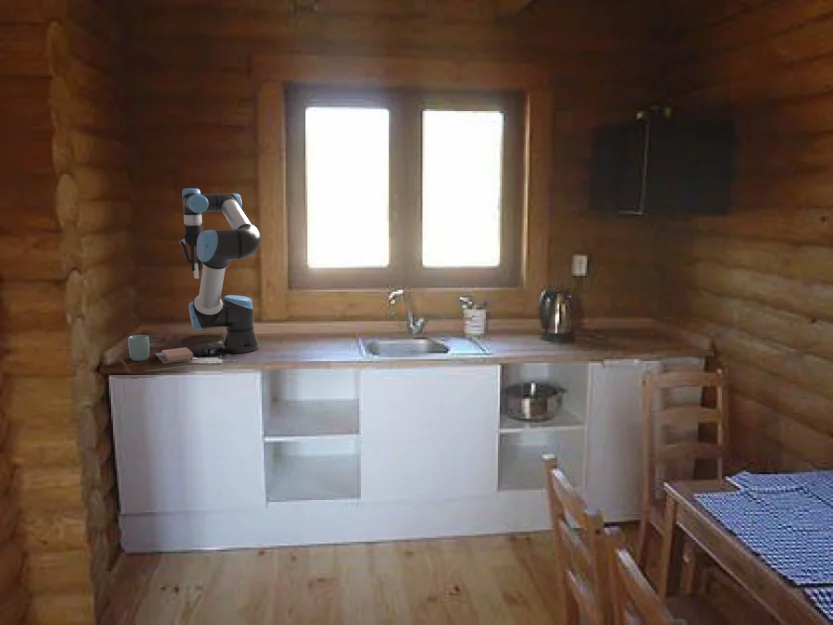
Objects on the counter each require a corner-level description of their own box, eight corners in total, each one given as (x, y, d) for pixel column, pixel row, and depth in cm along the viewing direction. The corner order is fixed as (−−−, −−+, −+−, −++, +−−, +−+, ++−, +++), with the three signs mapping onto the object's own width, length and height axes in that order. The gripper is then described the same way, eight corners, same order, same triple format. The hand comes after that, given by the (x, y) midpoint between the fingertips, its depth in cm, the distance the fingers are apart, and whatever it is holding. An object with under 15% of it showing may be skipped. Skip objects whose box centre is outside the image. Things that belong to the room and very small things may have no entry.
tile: (162, 350, 309) (167, 356, 300) (186, 347, 314) (192, 353, 305) (162, 355, 310) (167, 361, 300) (186, 352, 315) (193, 358, 305)
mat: (155, 355, 313) (154, 353, 313) (188, 351, 320) (188, 349, 320) (163, 365, 298) (163, 363, 298) (199, 360, 305) (198, 359, 305)
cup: (143, 357, 310) (141, 333, 308) (153, 360, 306) (152, 336, 304) (126, 361, 305) (124, 337, 302) (136, 364, 300) (134, 340, 298)
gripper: (206, 223, 330) (209, 275, 335) (176, 224, 324) (179, 278, 329) (210, 224, 324) (213, 278, 328) (179, 225, 317) (183, 280, 322)
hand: (196, 278), depth 328 cm, fingers closed
